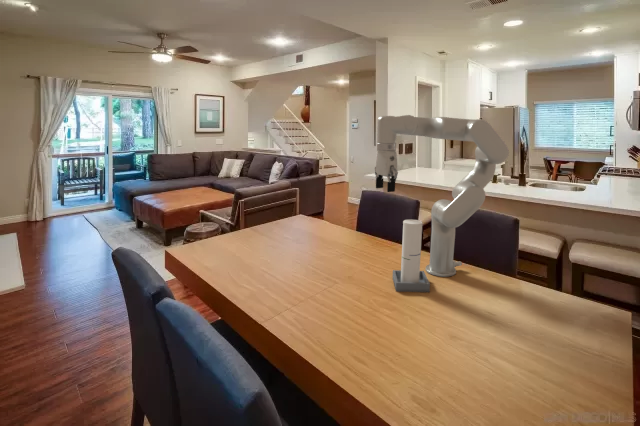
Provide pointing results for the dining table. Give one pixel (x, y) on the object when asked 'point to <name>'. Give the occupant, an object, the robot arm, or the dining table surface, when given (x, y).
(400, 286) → the tray
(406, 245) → the cylindrical container
